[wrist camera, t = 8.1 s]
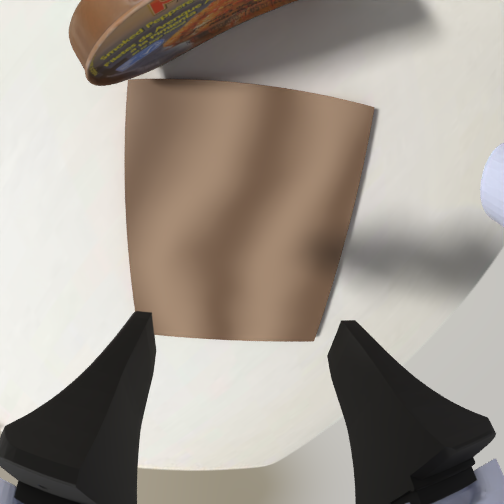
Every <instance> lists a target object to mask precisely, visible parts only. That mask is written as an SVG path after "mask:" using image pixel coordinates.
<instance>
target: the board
mask: <svg viewBox="0 0 504 504" xmlns="http://www.w3.org/2000/svg"><path fill="white" fill-rule="evenodd" d="M373 113H374V107H371V106H367V105H364V104H360V103H356V102H352V101H347V100H343V99H339V98H334V97H330V96H325V95H320V94H315V93H309V92H304V91H298V90H292V89H286V88H279V87H272V86H265V85H257V84H248V83H238V82H227V81H213V80H194V79H133V80H128V87H127V102H126V121H125V204H126V224H127V239H128V252H129V263H130V273H131V282H132V290H133V298H134V306H135V311H142V312H152V319H153V328H154V335H164V336H175V337H188V338H203V339H220V340H243V341H314V339H315V337H316V334H317V331H318V328H319V325H320V322H321V319H322V316H323V313H324V310H325V306H326V303H327V300H328V297H329V294H330V291H331V287H332V284H333V281H334V277H335V274H336V271H337V267H338V264H339V260H340V257H341V253H342V250H343V246H344V242H345V239H346V235H347V231H348V227H349V224H350V220H351V216H352V212H353V208H354V204H355V200H356V195H357V191H358V187H359V183H360V178H361V174H362V169H363V164H364V160H365V155H366V150H367V145H368V140H369V135H370V130H371V124H372V119H373Z"/></svg>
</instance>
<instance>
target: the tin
mask: <svg viewBox="0 0 504 504" xmlns="http://www.w3.org/2000/svg"><path fill="white" fill-rule="evenodd" d="M294 1H297V0H81V1H80V3H79V4H78V6H77V8H76V10H75V12H74V14H73V16H72V19H71V22H70V26H69V39H70V43H71V45H72V48H73V50H74V52H75V54H76V55H77V57H78V59H79V61H80V62H81V64H82V66H83V68H84V69H85V74H86V78H87V80H88V81H89V82H90V83H92V84H94V85H98V86H102V85H103V86H105V85H111V84H116V83H119V82H122V81H125V80H128V79H131V78H134V77H136V76H139V75H141V74H144V73H146V72H149V71H151V70H153V69H155V68H157V67H159V66H161V65H163V64H165V63H167V62H169V61H171V60H173V59H175V58H176V57H178V56H180V55H182V54H184V53H186V52H187V51H189V50H191V49H193V48H194V47H196V46H198V45H200V44H202V43H203V42H205V41H207V40H209V39H211V38H213V37H214V36H216V35H218V34H220V33H222V32H224V31H226V30H228V29H230V28H232V27H234V26H237V25H239V24H241V23H243V22H245V21H247V20H249V19H252V18H254V17H256V16H259V15H261V14H263V13H266V12H268V11H271V10H273V9H276V8H278V7H281V6H283V5H286V4H289V3H291V2H294Z"/></svg>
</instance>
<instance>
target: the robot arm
mask: <svg viewBox="0 0 504 504" xmlns="http://www.w3.org/2000/svg"><path fill="white" fill-rule="evenodd" d="M480 190H481V202H482V206H483V209H484V211H485V212H486V214H487V215H488V216H489V217H490V218H491V219H493V220H494V221H496V222H497V223H499V224H500V225H501V226H503V227H504V143H502V144H500V145H499V146H497V147H496V148H495V149H494V151H493V152H492V153H491V155H490V156H489V158H488V160H487V162H486V165H485V168H484V171H483V175H482V179H481V188H480ZM155 356H156V345H155V337H154V328H153V319H152V312H142V311H135V312H134V313H133V314H132V316H131V317H130V318H129V320H128V321H127V322H126V324H125V325H124V326H123V328H122V329H121V330H120V331H119V333H118V334H117V335H116V337H115V338H114V339H113V340H112V341H111V342H110V344H109V345H108V346H107V347H106V348H105V350H104V351H103V352H102V353H101V354H100V355H99V356H98V357H97V358H96V359H95V361H94V362H93V363H92V364H91V365H90V366H89V367H88V368H87V369H86V370H85V371H84V372H83V373H82V374H81V375H80V376H79V377H78V378H76V379H75V380H74V381H73V382H72V383H71V384H70V385H68V386H67V387H66V388H65V389H64V390H62V391H61V392H60V393H59V394H57V395H56V396H55V397H53V398H52V399H51V400H49V401H48V402H46V403H45V404H43V405H42V406H40V407H39V408H37V409H36V410H34V411H33V412H31V413H29V414H28V415H26V416H24V417H22V418H20V419H18V420H16V421H14V422H12V423H10V424H8V425H6V426H5V428H4V430H3V432H2V434H1V437H0V466H1V467H2V468H3V469H5V470H6V471H7V472H8V473H9V474H11V475H12V476H13V477H15V478H16V479H17V480H18V484H17V487H16V486H15V485H13V484H11V483H9V482H7V481H5V480H3V479H1V478H0V504H137V466H138V451H139V439H140V430H141V424H142V419H143V415H144V410H145V406H146V402H147V398H148V393H149V389H150V385H151V381H152V377H153V372H154V364H155ZM327 356H328V362H329V368H330V373H331V378H332V382H333V385H334V388H335V391H336V394H337V397H338V400H339V403H340V406H341V409H342V413H343V416H344V419H345V422H346V426H347V430H348V434H349V440H350V446H351V452H352V459H353V467H354V478H355V496H356V504H504V476H503V473H502V471H501V469H500V466H499V464H498V462H497V460H496V459H493V460H491V461H490V462H488V463H487V464H485V465H483V466H481V467H479V468H478V469H476V470H475V471H473V469H472V467H471V466H473V465H474V464H475V461H474V458H473V457H474V456H475V455H476V454H477V453H479V452H480V451H481V450H482V449H483V448H484V447H485V446H487V445H488V444H489V443H490V442H491V441H492V440H493V439H494V437H495V435H496V433H495V431H494V429H493V427H492V425H491V423H490V421H489V419H488V418H487V417H485V416H482V415H480V414H477V413H474V412H472V411H469V410H467V409H465V408H463V407H461V406H459V405H457V404H455V403H453V402H451V401H450V400H448V399H446V398H444V397H443V396H441V395H440V394H438V393H436V392H435V391H433V390H432V389H430V388H429V387H427V386H426V385H425V384H423V383H422V382H420V381H419V380H418V379H417V378H415V377H414V376H413V375H412V374H411V373H409V372H408V371H407V370H406V369H405V368H404V367H402V366H401V365H400V364H399V363H398V362H397V361H396V360H395V359H394V358H393V357H392V356H391V355H389V354H388V353H387V352H386V351H385V350H384V349H383V348H382V347H381V346H380V345H379V344H378V343H377V342H376V341H375V340H374V339H373V338H372V337H371V336H370V335H369V334H368V333H367V332H366V331H365V329H363V328H362V327H361V326H360V325H359V324H358V323H357V322H356V321H355V320H349V321H341V323H340V325H339V328H338V330H337V333H336V336H335V338H334V341H333V343H332V346H331V348H330V351H329V353H328V355H327Z"/></svg>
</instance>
